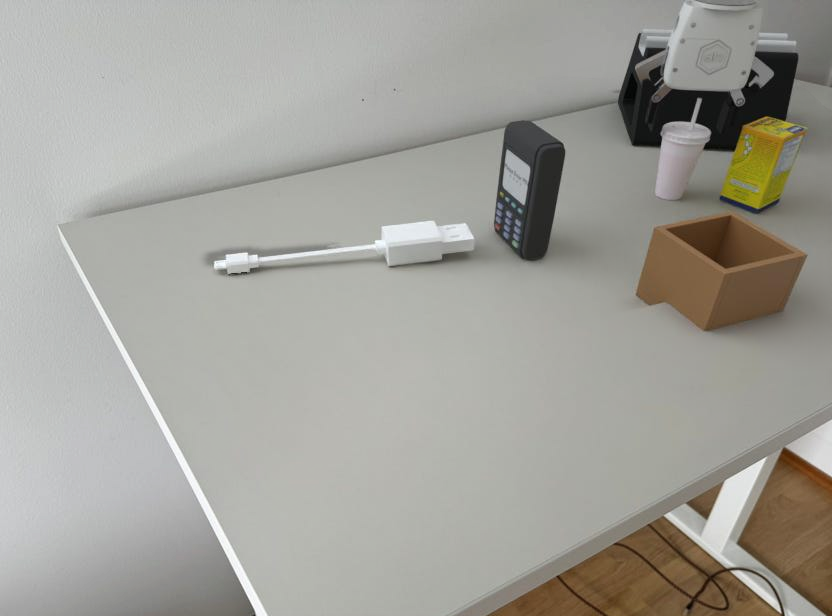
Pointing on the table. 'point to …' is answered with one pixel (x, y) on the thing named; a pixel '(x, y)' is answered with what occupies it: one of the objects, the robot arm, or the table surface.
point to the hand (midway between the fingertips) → (686, 129)
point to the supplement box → (761, 164)
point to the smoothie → (679, 155)
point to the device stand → (706, 92)
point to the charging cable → (379, 247)
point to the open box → (719, 270)
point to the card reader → (528, 188)
